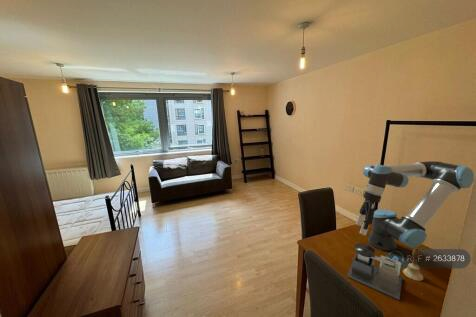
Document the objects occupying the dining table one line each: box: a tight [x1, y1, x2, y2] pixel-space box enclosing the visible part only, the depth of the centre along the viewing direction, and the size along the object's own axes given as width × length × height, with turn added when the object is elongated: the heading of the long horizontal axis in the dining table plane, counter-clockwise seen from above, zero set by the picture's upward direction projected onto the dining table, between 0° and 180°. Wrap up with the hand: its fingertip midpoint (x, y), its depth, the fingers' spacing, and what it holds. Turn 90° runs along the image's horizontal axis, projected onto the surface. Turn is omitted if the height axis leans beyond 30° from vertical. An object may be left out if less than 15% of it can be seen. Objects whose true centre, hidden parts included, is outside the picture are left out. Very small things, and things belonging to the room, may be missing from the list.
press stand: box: [346, 251, 403, 301], centre depth 103 cm, size 16×22×14 cm
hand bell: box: [402, 246, 424, 282], centre depth 104 cm, size 8×8×16 cm
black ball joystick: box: [354, 243, 394, 266], centre depth 103 cm, size 9×17×9 cm, turn 47°
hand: (360, 229), depth 108 cm, fingers open, 13 cm apart
